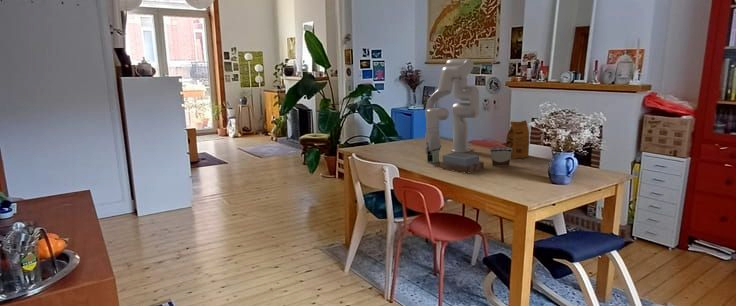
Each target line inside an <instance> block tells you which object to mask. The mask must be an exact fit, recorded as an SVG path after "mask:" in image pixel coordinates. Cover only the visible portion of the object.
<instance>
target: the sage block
mask: <svg viewBox="0 0 736 306" xmlns="http://www.w3.org/2000/svg"><path fill="white" fill-rule="evenodd" d="M429 152H430V151H429ZM426 162H427V163H429V164H430V163H431V164H437V163H440V150H435V149H434V150H432V162H430V161H428V155H427V154H426Z"/></svg>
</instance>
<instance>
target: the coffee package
mask: <svg viewBox="0 0 736 306" xmlns="http://www.w3.org/2000/svg"><path fill="white" fill-rule="evenodd" d="M505 141H506V142H505V147H509V148H512V151H513V152H511V159H513V160H515V159H525V158H528V157H529V153H530V130H529V127H528V123H527V120H522V121H513V120H511V121H510V127H509V130H508V132H507V135H506V139H505Z"/></svg>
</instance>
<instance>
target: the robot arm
mask: <svg viewBox="0 0 736 306" xmlns="http://www.w3.org/2000/svg"><path fill="white" fill-rule="evenodd" d="M473 69H474V62H473V60H472V59H471V58H450V59H448V60H447V61H445V66H444V67H442V69H441V71H440V76H439V81H438V85H437V89H436V90H435V91H434V92H433V93H432V95H430V97H429V98H428V100H427V101H426V105H425V110H424V114H425V118H426V120H425V123H426V124H425V125H426V126H425V128H426V129H425V130H426V131H425V133H424V135H425V136H424V145H423V147H424V150H423V151H424V152H425V153H426V156H427V155H428V161H430V162H432V150H434V149H435V150H439V151H441V148H442V143H441V134H440V121H445V120H446V121H447V119H448V118H449V116H450V110H449V109H448V108H447V107H439V106H438V107H437V106H435V104H436V103H437V102H438V101H439V100H441V99H442V98H443V99H444V98H445V97H447V96H449V95H450V94H451V93H452V91H453V98H454V100H456V101H461V102H456V103H453V104H452V107H451V115H452V130H453V131H452V148H451V149H450V152H451V153H454V152H460V153H469V152H471V148H469V147H472V143H469V122H468V121H467V119H476V118H478V116H479V115H480V114H479V113H480V90H479V88H478V87H477V86H476V85H468V76H469V75H470V74H471V73H472V71H473ZM467 101H468V102H467ZM429 151H430V152H429ZM430 162H429V163H430Z"/></svg>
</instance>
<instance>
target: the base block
mask: <svg viewBox="0 0 736 306" xmlns="http://www.w3.org/2000/svg"><path fill="white" fill-rule="evenodd" d="M484 166H485V164H484V161H481V160H479V163H477V164H473V165H470V166H467V167H465V166H460V165H454V164H449V163H443V161H442V162H439V169H440V168H443V169H442V170H445V169H448V170H447V171H450V170H454V171H453V172H455V171H459V172H458V173H461V172H465V173H464V174H466V173H467V174H469V173H468V172H470V173H473V172H476V171H478V170H482V169H484V168H485V167H484ZM475 170H476V171H475ZM472 171H473V172H472Z"/></svg>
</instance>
